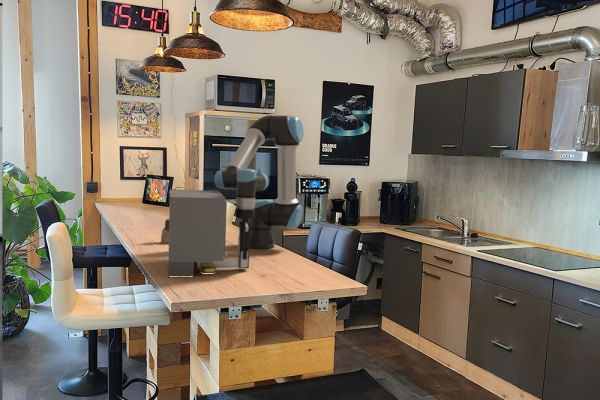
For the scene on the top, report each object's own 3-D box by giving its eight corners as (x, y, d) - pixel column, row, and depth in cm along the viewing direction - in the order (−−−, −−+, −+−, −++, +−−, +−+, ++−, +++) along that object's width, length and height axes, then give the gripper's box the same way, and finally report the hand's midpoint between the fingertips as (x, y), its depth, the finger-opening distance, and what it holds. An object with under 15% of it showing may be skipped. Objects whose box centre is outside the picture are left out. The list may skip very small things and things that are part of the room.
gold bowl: (215, 271, 194) (215, 263, 194) (216, 275, 189) (217, 267, 188) (199, 271, 193) (200, 264, 192) (200, 275, 187) (201, 267, 187)
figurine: (177, 241, 246) (177, 218, 245) (174, 244, 239) (174, 220, 238) (163, 241, 246) (163, 217, 244) (159, 244, 239) (159, 219, 237)
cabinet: (219, 259, 213) (222, 190, 210) (227, 276, 187) (229, 198, 183) (168, 260, 208) (169, 189, 205) (168, 277, 181) (170, 197, 178)
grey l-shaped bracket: (247, 265, 200) (248, 236, 199) (248, 268, 196) (249, 238, 195) (197, 266, 195) (197, 236, 194) (197, 269, 191) (198, 238, 190)
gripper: (233, 205, 202) (231, 260, 205) (238, 210, 186) (236, 271, 188) (251, 205, 204) (249, 260, 207) (258, 211, 188) (255, 270, 190)
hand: (243, 265), depth 198 cm, fingers closed on grey l-shaped bracket, 4 cm apart
